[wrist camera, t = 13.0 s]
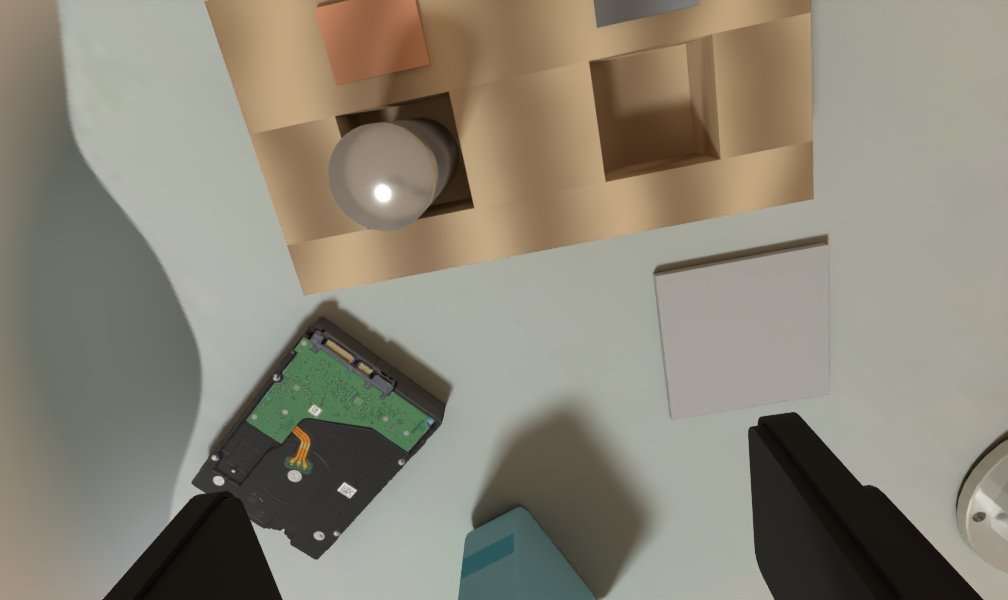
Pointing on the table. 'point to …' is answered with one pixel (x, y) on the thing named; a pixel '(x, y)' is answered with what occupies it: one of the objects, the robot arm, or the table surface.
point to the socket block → (523, 118)
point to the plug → (392, 171)
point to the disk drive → (321, 439)
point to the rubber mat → (745, 331)
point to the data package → (517, 563)
